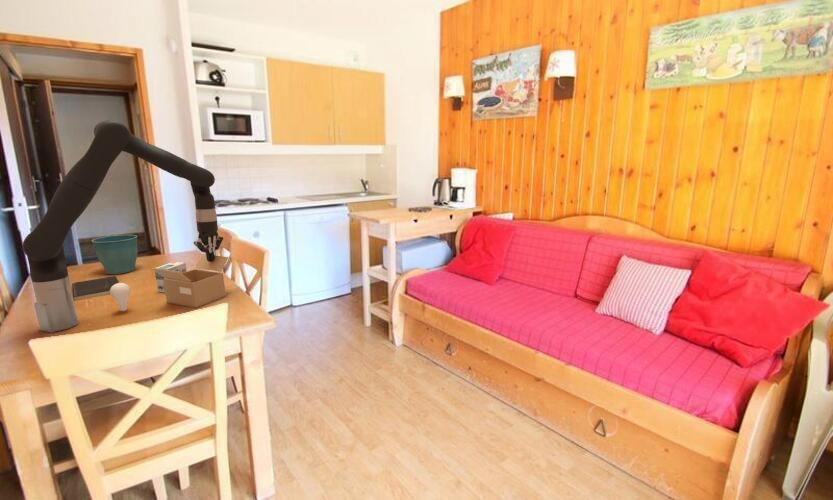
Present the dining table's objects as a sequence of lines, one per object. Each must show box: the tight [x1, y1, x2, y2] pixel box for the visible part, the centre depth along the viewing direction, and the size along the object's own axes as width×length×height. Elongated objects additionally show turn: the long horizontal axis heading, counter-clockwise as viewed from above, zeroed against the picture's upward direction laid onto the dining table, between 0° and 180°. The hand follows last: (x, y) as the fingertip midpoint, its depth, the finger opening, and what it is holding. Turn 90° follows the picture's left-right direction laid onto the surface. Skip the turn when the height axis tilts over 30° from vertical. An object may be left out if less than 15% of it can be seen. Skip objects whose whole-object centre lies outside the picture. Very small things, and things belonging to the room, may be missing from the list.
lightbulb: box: [109, 282, 131, 312], centre depth 151 cm, size 6×6×11 cm
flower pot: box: [91, 234, 139, 275], centre depth 201 cm, size 18×18×17 cm
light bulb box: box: [154, 261, 187, 293], centre depth 176 cm, size 11×7×11 cm, turn 168°
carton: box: [163, 268, 227, 309], centre depth 163 cm, size 14×16×10 cm
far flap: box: [194, 253, 229, 273], centre depth 169 cm, size 6×14×1 cm
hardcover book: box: [71, 275, 120, 302], centre depth 177 cm, size 16×23×2 cm
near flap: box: [151, 267, 191, 282], centre depth 153 cm, size 6×14×1 cm
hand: (211, 261), depth 169 cm, fingers closed
